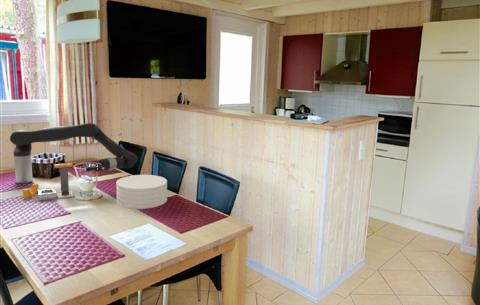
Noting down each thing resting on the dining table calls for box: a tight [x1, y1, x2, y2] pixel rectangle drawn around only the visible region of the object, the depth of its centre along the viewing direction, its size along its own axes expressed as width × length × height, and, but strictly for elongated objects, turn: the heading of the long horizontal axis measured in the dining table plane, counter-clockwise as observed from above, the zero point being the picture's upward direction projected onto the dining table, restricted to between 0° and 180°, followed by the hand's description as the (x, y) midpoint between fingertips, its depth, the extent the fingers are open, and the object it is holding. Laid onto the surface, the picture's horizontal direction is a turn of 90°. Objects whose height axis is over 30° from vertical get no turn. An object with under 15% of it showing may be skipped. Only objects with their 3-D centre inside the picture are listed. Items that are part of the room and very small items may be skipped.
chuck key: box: [54, 162, 73, 195], centre depth 205 cm, size 4×9×18 cm, turn 122°
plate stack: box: [115, 174, 168, 210], centre depth 208 cm, size 28×28×12 cm
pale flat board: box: [31, 191, 76, 203], centre depth 204 cm, size 11×21×2 cm, turn 122°
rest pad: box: [56, 191, 75, 199], centre depth 207 cm, size 8×8×1 cm
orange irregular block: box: [22, 183, 39, 199], centre depth 205 cm, size 12×4×6 cm, turn 4°
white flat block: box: [37, 187, 58, 202], centre depth 202 cm, size 9×9×4 cm
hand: (82, 168), depth 212 cm, fingers open, 8 cm apart
